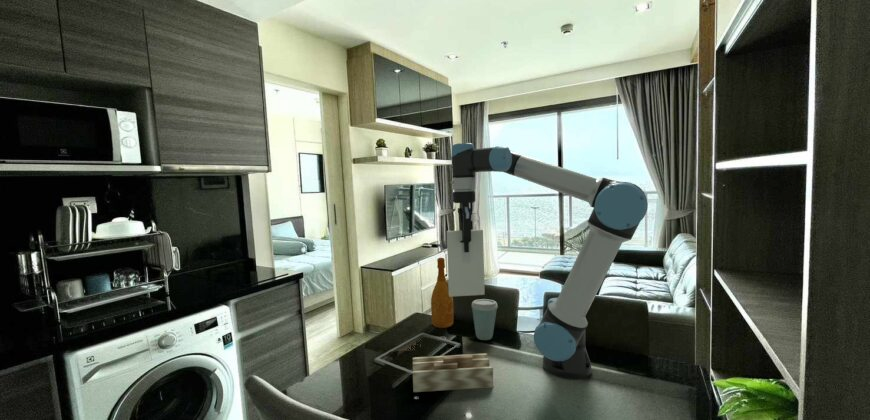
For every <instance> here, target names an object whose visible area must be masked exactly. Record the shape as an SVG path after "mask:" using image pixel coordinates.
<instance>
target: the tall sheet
mask: <svg viewBox="0 0 870 420" xmlns="http://www.w3.org/2000/svg"><path fill="white" fill-rule="evenodd" d="M460 241H462V230H459V229H458V230H446V247H447V249H446V250H447V251H446V253H447V254H446V255H447V275H448V278H447V280H448V283H447V284H448V286H449V297H467V296H468V297H470V296H483V295H486V294H485V291H486V290H485V261H484V260H485V257H484V255H485V253H484V251H485V250H484V230H483V228H482V229H471V241H470V260H471V262H462V243H460Z"/></svg>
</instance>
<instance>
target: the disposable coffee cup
mask: <svg viewBox="0 0 870 420" xmlns="http://www.w3.org/2000/svg"><path fill="white" fill-rule="evenodd" d="M498 307H499V306H498V303H497V301H495V300H494V299H487V298H481V299H475V300H473V301H472V302H471V309H472V317H473V325H474V330H475V331H474V332H475V337H476V338H477V339H478V340H480V341H488V340H489V341H490V340H491V339H493V335H494V329H495V323H496V317H497V316H496V315H497V309H499V308H498Z"/></svg>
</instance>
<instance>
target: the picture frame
mask: <svg viewBox="0 0 870 420" xmlns="http://www.w3.org/2000/svg"><path fill="white" fill-rule="evenodd" d="M422 336H423V337H426V338H430V339H434V340H437V341H440V342H443V343H446V344H450V345H453V346H454V347H452V348H448V350H446V351H445V352H444V353H442V354H440V355H439V356H446V354H448V353H449V352H451V351H452V350H454V349H455V348H456V349H457V348H461V347H462V344H461V343H460V342H457V341H452V340H449V339H448V338H447V337H446V336H436V335H433V334H428V333H426V332H421V333H419V334H417V335H415V336H413V337H411V338H410V339H408V340H406V341H404V342H402V343H401V344H399V345H397V346H395V347H394V348H391V349H389V350H387V351H386V352H384V353H383V354H381V355H379V356H377V357H375V358H374V359H373V361H374V363H376V364H379V365H381V366H385V364H386V365H389V366H392V367H393V368H396V369H399V370H402V371H404V372H407V373H409V374H412V375H413V370H410V369H407V368H406V367H403V366H400V365H398V364H395V363H392V362H390V361H387V360H386V359H389V355H390V353H391V352H402V351H404V352H405V351H416V350H415V349H414V348H415V346H414V345H416V340H417V339H418V340H419V339H420V338H422ZM420 340H421V339H420ZM420 340H419V341H420ZM419 341H418V342H419ZM421 341H422V340H421ZM413 342H414V343H413ZM412 343H413V346H414V348H413V347H412V348H413V349H414V350H413V349H412V350H411V345H412ZM420 343H421V342H420ZM409 345H410V347H409ZM417 345H418V344H417ZM460 346H461V347H460ZM407 347H408V348H409V349H410V350H409V349H408V348H407ZM420 347H421V344H420ZM407 349H408V350H407Z"/></svg>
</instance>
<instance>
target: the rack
mask: <svg viewBox="0 0 870 420" xmlns="http://www.w3.org/2000/svg"><path fill="white" fill-rule="evenodd" d="M459 355H460V354H452V355H448V356H459ZM466 355H472V356H473V368H458V369H441V370H434V363H443V356H444V355H443V356H440V355H435V356H434V355H433V356H417V357H416V356H415V357H412V371H413V374H412V389H413V393H421V392H437V391H438V392H439V391H453V390H467V389H468V390H469V389H472V390H473V389H487V388H494V367H493V366H490V358H489V357H488V353H468V354H466Z"/></svg>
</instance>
